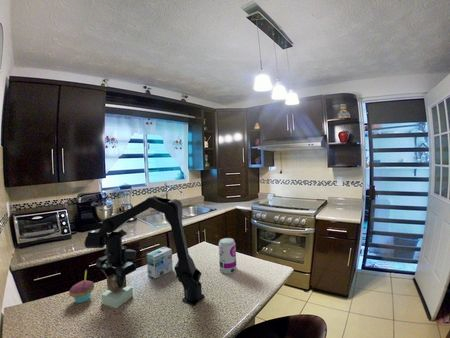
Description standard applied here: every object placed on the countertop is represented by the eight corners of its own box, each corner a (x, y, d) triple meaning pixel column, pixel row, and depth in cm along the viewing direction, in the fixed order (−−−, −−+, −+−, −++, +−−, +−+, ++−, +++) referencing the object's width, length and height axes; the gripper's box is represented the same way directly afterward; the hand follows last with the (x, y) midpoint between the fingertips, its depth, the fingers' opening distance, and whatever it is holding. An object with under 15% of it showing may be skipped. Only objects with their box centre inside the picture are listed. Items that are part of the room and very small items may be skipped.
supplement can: (239, 268, 107) (238, 239, 107) (231, 276, 100) (229, 244, 100) (225, 265, 112) (224, 236, 111) (216, 272, 105) (215, 242, 104)
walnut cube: (126, 286, 88) (125, 274, 87) (114, 293, 83) (113, 280, 83) (119, 283, 90) (118, 271, 90) (107, 289, 86) (106, 277, 86)
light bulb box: (155, 279, 101) (154, 257, 100) (147, 275, 105) (145, 253, 104) (173, 269, 109) (172, 248, 109) (165, 266, 113) (164, 246, 113)
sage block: (133, 296, 89) (132, 286, 89) (116, 309, 82) (115, 298, 81) (119, 292, 92) (118, 283, 92) (101, 304, 85) (101, 294, 85)
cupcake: (92, 290, 94) (90, 263, 93) (97, 298, 88) (95, 270, 87) (68, 300, 88) (65, 271, 87) (72, 309, 82) (69, 279, 81)
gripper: (146, 244, 88) (148, 281, 89) (119, 237, 98) (121, 270, 98) (120, 254, 78) (123, 296, 79) (94, 246, 88) (96, 283, 89)
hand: (116, 285), depth 87 cm, fingers closed on walnut cube, 5 cm apart
